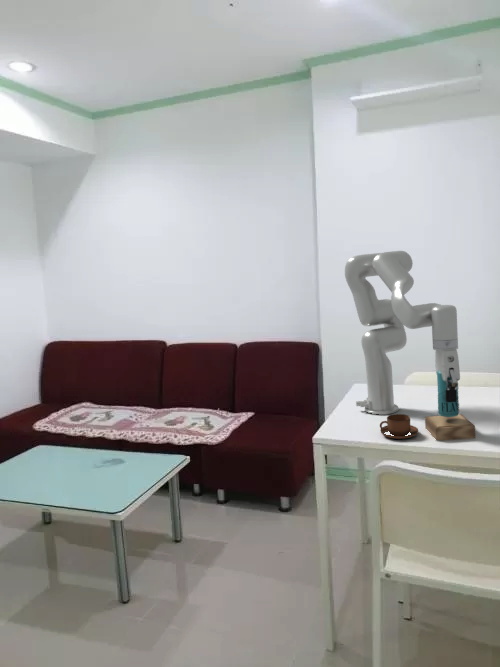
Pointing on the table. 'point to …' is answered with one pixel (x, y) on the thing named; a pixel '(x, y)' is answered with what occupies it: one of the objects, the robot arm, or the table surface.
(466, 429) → the walnut base
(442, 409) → the beverage bottle
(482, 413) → the table surface
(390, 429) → the cup and saucer
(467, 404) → the table surface
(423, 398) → the table surface
